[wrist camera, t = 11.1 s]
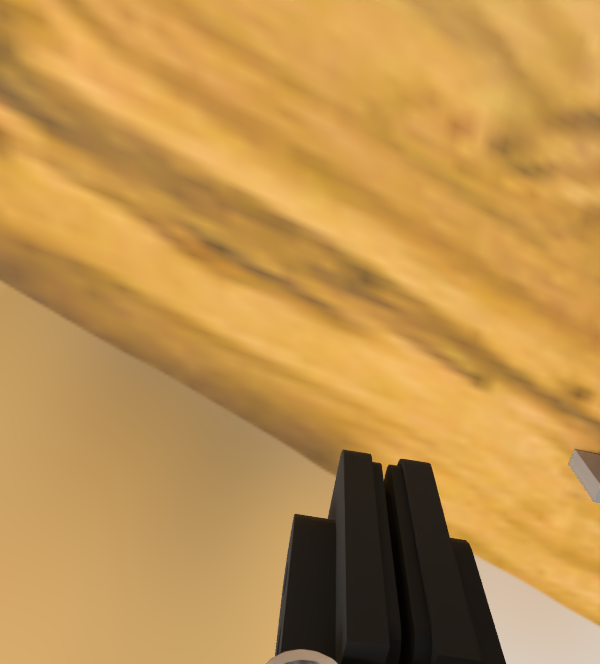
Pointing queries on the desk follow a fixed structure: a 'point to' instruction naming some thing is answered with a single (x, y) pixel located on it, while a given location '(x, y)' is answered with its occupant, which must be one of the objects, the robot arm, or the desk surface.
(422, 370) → the desk surface
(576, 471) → the cradle
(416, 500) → the robot arm
